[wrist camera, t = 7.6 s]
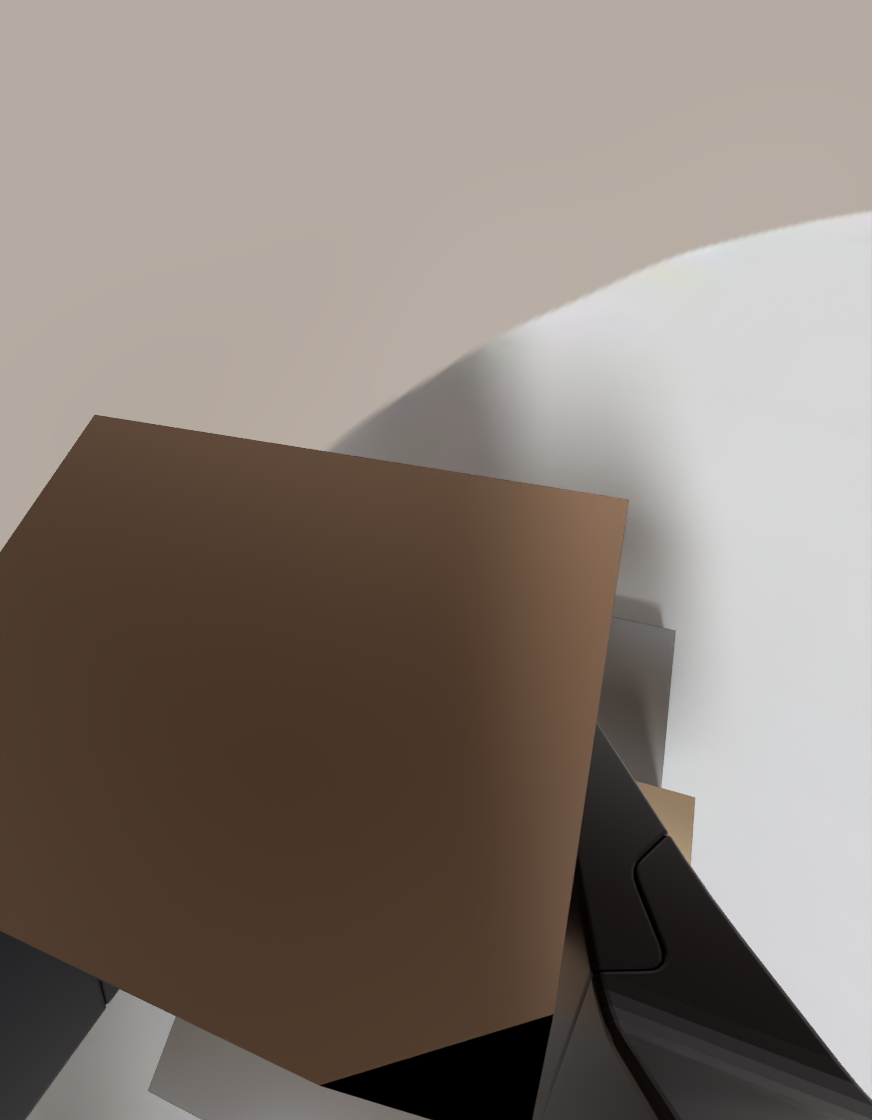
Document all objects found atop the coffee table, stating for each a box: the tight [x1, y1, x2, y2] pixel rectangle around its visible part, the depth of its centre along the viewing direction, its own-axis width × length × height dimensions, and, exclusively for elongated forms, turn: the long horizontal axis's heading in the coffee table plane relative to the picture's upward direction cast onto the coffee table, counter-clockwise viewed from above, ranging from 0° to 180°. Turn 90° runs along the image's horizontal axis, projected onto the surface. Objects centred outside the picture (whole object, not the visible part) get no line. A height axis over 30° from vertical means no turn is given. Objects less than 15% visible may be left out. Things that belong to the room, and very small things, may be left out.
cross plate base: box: [148, 617, 695, 1120], centre depth 14 cm, size 16×12×4 cm
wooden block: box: [0, 415, 629, 1120], centre depth 9 cm, size 7×4×13 cm, turn 164°
